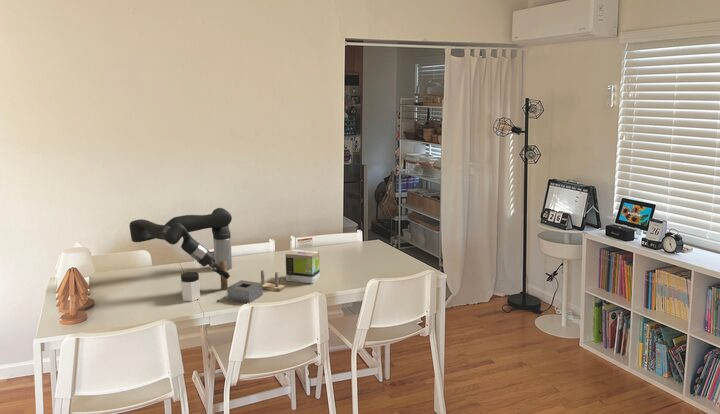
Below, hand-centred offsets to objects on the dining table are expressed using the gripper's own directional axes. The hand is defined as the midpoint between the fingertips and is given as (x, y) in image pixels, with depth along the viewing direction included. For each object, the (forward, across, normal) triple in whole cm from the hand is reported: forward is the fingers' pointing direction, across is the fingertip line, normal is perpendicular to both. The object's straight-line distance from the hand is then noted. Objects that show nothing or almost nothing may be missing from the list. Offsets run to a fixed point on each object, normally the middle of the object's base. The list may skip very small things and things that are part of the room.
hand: (228, 276), depth 306 cm
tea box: (+32, -2, +22) cm, 39 cm away
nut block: (+9, +15, 0) cm, 17 cm away
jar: (-8, +8, -18) cm, 21 cm away
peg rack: (+18, +6, +9) cm, 21 cm away
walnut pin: (+3, 0, -6) cm, 7 cm away
